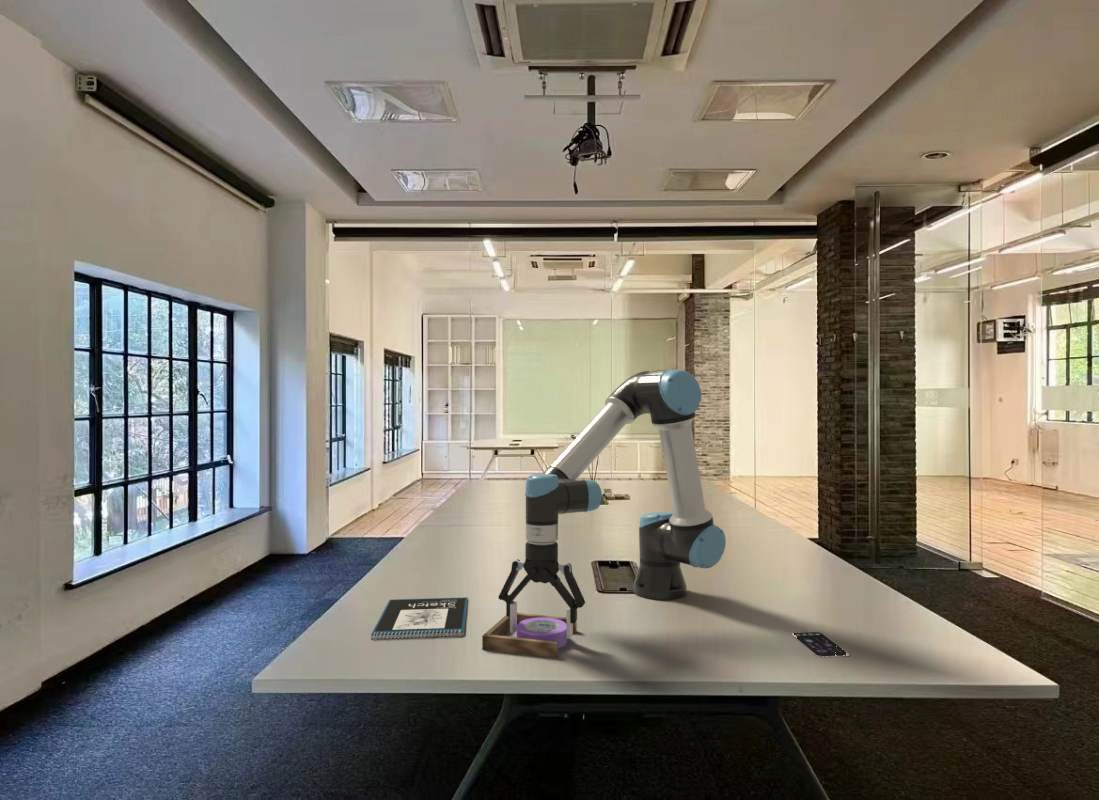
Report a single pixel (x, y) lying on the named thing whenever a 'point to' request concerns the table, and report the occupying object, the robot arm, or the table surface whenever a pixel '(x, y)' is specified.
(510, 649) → the wooden u-shaped frame
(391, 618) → the sketchbook
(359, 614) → the table surface
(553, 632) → the masking tape
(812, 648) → the smartphone
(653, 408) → the robot arm
